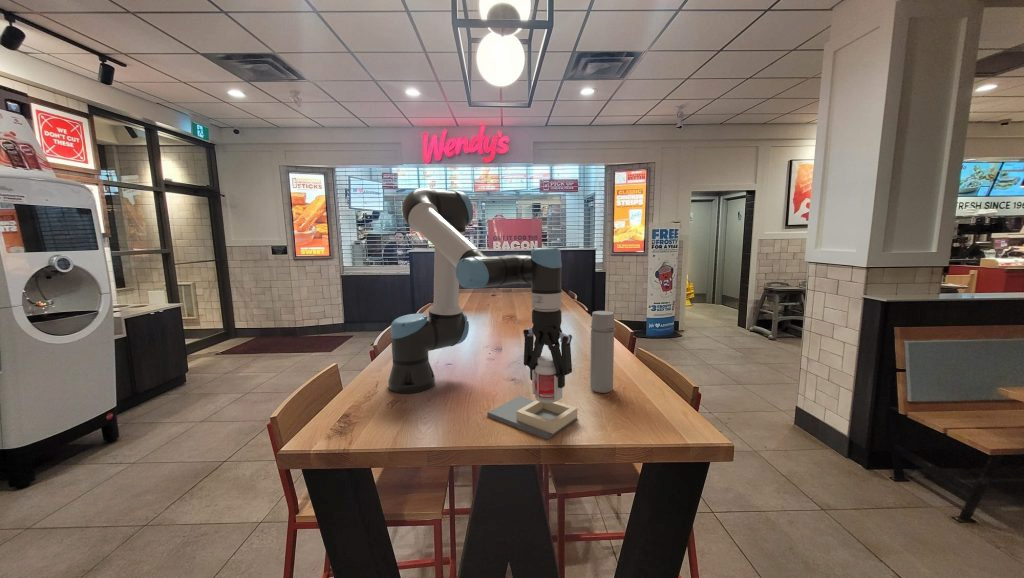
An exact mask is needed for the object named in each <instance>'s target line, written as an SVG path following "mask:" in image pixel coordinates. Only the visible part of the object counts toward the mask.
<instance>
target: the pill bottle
mask: <svg viewBox="0 0 1024 578" xmlns="http://www.w3.org/2000/svg"><path fill="white" fill-rule="evenodd" d="M538 364H539V365H538V366H536V368H535V394H534V395H535V397H534V399H535V401H536V400H537V401H539V402H542V403H553V402H556V401H555V400H554V376H555V375H556V374H557V373H556V370H555V366H554V362H553V358H552V355H541V356H540V357H538Z"/></svg>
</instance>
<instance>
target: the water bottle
mask: <svg viewBox="0 0 1024 578" xmlns="http://www.w3.org/2000/svg"><path fill="white" fill-rule="evenodd" d="M590 323H591V324H590V325H589V326H590V365H589V367H590V369H589V370H590V372H589V373H590V378H589V381H590V382H589V387H590V390H591V391H593V392H595V393H600V394H607V393H610V392H611V391H612V390H613V389H614V356H615V355H614V353H615V352H614V351H615V350H614V349H615V331H616V330H617V329H616V324H615V314H614V312H613V311H609V310H596V311H592V313H591V322H590Z"/></svg>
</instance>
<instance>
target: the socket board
mask: <svg viewBox="0 0 1024 578" xmlns="http://www.w3.org/2000/svg"><path fill="white" fill-rule="evenodd" d="M487 417H489V418H491V419H494V420H496V421H499V422H501V423H504V424H506V425H509V426H512V427H514V428H517V429H519V430H522V431H524V432H526V433H529V434H532V435H533V436H537V437H540V438H542V439H545V440H549V439H551V438H552V437H553V436H555V435H556V434H557V433H559V432H560V431H562V430H564V429H565V428H566V427H567V426H569V425H571V424H572V423H573V422H574V421H576V420H577V419H578V407H576V406H573V405H568V404H567V403H564V402H563V403H562V402H560V401H556V402H553V403H542V402H539V401H537V400H536V399H535V400H534V399H531V398H527V397H525V396H522V395H518V396H517V397H515V398H512V399H510V400H509V401H507V402H504V403H502V404H501V405H499V406H497V407H495V408H493V409H491V410H489V411H487Z"/></svg>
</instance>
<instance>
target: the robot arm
mask: <svg viewBox="0 0 1024 578" xmlns="http://www.w3.org/2000/svg"><path fill="white" fill-rule="evenodd" d="M401 208H402V209H401V212H402V217H403V219H404V221H405V223H406V224H407V225H408V226H409V227H410V228H411V229H412V230H413V231H415V232H417V233H421V234H422V235H423V236H424V237H425V238H426V239H427V241H428V242H430V243H431V244H432V246H434V252H433V253H434V255H433V257H434V259H433V260H434V261H433V262H434V263H433V266H434V267H433V273H434V274H433V304H432V305H431V307H430V308H428V316H427V315H426V314H425V313H421V312H420V313H419V312H418V313H409V314H406V315H405V314H404V315H402V316H398V317H397V318H395V319H393V321H392V322H391V324H390V339H391V355H392V366H391V370H390V375H389V378H388V381H387V382H388V383H387V384H388V389H389V390H390V391H391V392H393V393H398V394H414V393H419V392H423V391H426V390H429V389H430V388H432V387H433V386H435V383H436V376H435V374H434V371H433V368H432V366H431V363H430V360H429V352H430V351H434V350H440V349H444V348H448V347H454V346H456V345H460V344H461V343H463V342H464V341H465V340H466V339H467V337H468V334H469V330H470V329H469V328H470V322H469V321H468V317H467V315H466V314H465V312H464V311H463V308H462V307H461V306H460V305H459V300H460V299H459V297H460V296H459V295H460V286H461V287H462V288H464V289H476V290H477V289H482V288H488V287H495V286H505V285H513V284H528V285H531V308H532V310H531V323H532V324H533V325H532V327H529V328H526V329H523V331H522V332H523V337H524V345H523V346H524V348H523V365H524V366H527V367H529V379H530V381H532V383H531V384H532V385H531V386H532V389H531V392H532V395H535V368H536V366H538V365H539V364H538V357H540V356H542V352H543V349H544V346H547V348H548V350H549V351H550V356H552V358H553V362H554V366H555V370H556V373H557V374H556V375H555V376H554V400H555V401H557V402H559V400H561V399H563V388H564V387H565V386H566V376H567V375H569V374H571V373H572V372H573V365H572V364H573V363H572V362H573V361H572V350H571V348H572V347H571V343H572V339H573V335H571V334H566V333H564V332H563V330H562V328H561V325H562V318H563V317H562V315H563V314H562V312H563V311H562V310H561V308H562V269H563V263H562V252H561V249H559V248H558V247H534V248H531V252H530V253H531V254H530V255H525V254H517V253H514V254H505V255H495V256H494V255H493V256H488V255H486V254H484V253H483V252H482V251H481V250H480V249H479V248H478V247H477V246H476V245H474V244H473V242H472V241H470V240H469V239H468V238H467V237H466V236H464V234H466V227H468V226H470V224H471V223H472V221H473V218H474V207H473V203H472V201H471V199H470V198H469V196H468V194H466V193H465V192H464V191H460V190H454V189H441V188H428V187H422V188H416V189H414V190H413V191H410V192H409V194H407V196H406V197H405V198H404V200H403V202H402V207H401ZM559 340H560V341H559Z"/></svg>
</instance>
